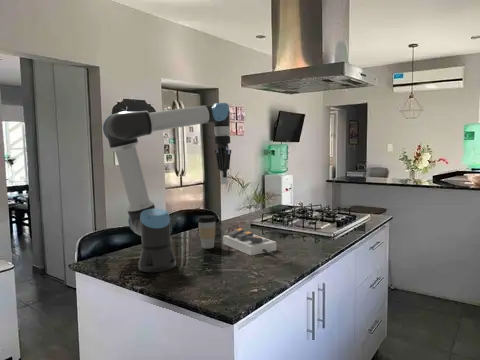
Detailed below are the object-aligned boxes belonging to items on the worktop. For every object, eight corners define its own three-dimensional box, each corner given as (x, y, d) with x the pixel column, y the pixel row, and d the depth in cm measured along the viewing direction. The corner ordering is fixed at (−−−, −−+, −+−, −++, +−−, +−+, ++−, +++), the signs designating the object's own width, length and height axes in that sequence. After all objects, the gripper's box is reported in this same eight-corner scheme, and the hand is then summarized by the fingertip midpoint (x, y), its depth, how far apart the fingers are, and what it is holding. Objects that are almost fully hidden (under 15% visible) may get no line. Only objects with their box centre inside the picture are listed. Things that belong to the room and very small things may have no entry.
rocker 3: (249, 240, 176) (250, 236, 176) (244, 239, 180) (245, 235, 180) (262, 242, 180) (262, 238, 180) (257, 240, 183) (258, 236, 183)
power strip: (260, 259, 167) (260, 248, 166) (223, 243, 196) (222, 234, 195) (286, 254, 174) (286, 243, 173) (246, 239, 203) (246, 230, 203)
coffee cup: (194, 248, 189) (193, 217, 187) (205, 243, 197) (204, 214, 196) (211, 250, 184) (209, 219, 183) (221, 245, 192) (220, 215, 191)
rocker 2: (241, 240, 183) (240, 236, 183) (236, 238, 187) (236, 235, 187) (253, 236, 187) (252, 232, 187) (248, 234, 190) (248, 231, 190)
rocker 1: (232, 237, 190) (232, 234, 190) (229, 236, 194) (228, 232, 194) (244, 232, 194) (243, 229, 193) (240, 230, 197) (239, 227, 197)
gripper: (235, 135, 185) (237, 184, 187) (222, 135, 196) (224, 182, 198) (221, 135, 181) (223, 185, 183) (209, 136, 192) (211, 183, 194)
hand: (224, 184), depth 191 cm, fingers closed
